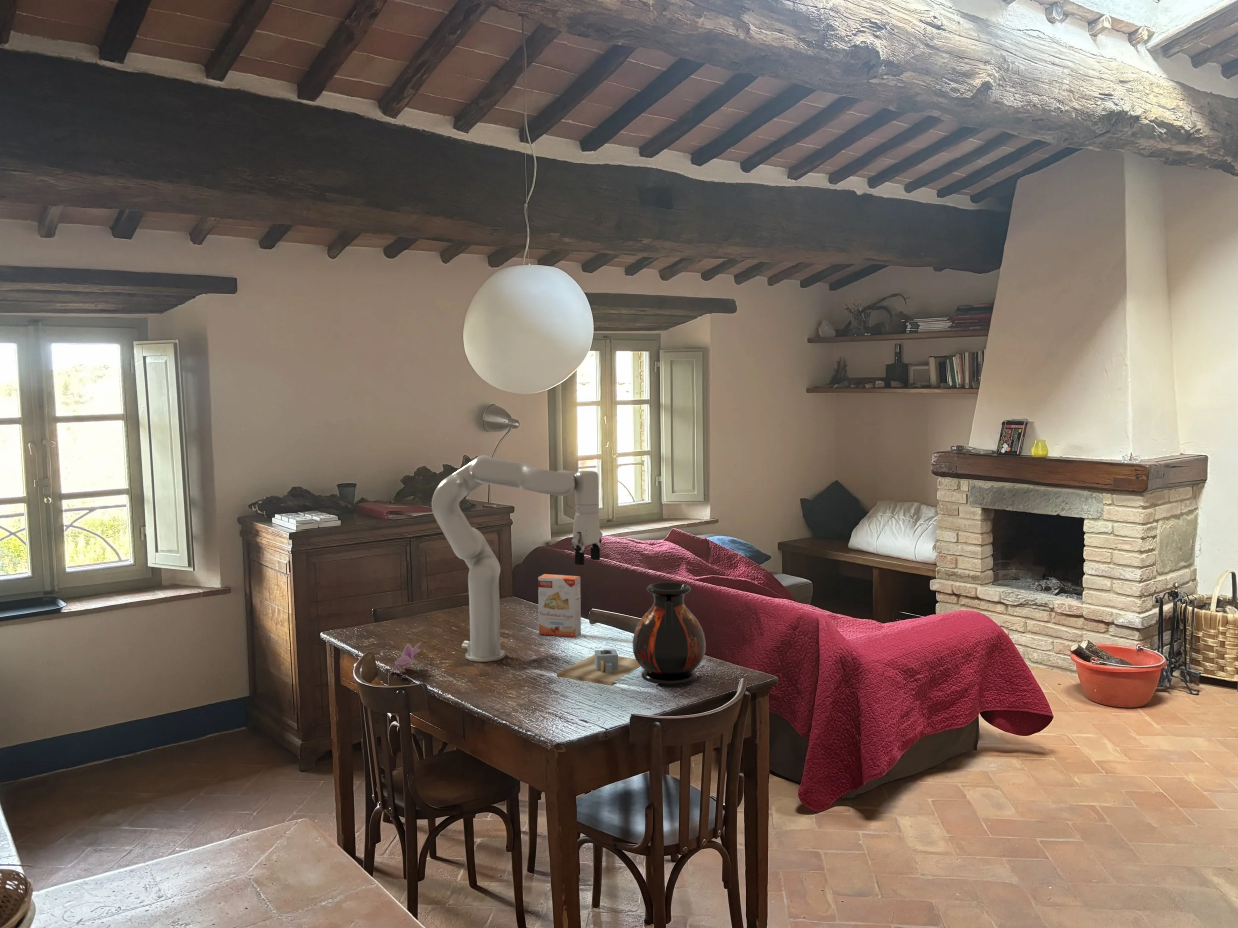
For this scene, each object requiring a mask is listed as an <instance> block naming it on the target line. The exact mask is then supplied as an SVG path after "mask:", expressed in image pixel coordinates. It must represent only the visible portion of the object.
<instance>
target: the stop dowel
mask: <svg viewBox="0 0 1238 928" xmlns="http://www.w3.org/2000/svg"><path fill="white" fill-rule="evenodd" d="M601 673H605V660H601Z"/></svg>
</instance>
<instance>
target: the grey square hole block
mask: <svg viewBox="0 0 1238 928" xmlns="http://www.w3.org/2000/svg"><path fill="white" fill-rule="evenodd" d="M602 650H603V649H595V650H594V655H595V666H596V669H597V671H600V670H601V660H605V673H612V670H618V656H619V654H618V652H617V650H616V649H615V648H614V649H608V650H609V654H602Z"/></svg>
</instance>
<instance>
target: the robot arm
mask: <svg viewBox="0 0 1238 928" xmlns="http://www.w3.org/2000/svg"><path fill="white" fill-rule="evenodd" d="M599 477H600V476H599V473H598V472H597V471H594V470H581V471H573V470H566V469H561V470H558V471H556V470H549V469H543V468H538V467H534V466H531V465H530V464H528V463H524V462H521V461H513V460H507V459H502V458H495V457H491V456H490V455H486V454H484V455H482V454H481V455H479V456H477V457H475V458H474V459H472V460H471V461H470V462H469V463H467V464H466V465H464V466H463V467H461V468H459V469H457V471H455V472H453V473H452V474H450V475H448V476H447V477H446V478H444V479H443V480H441V482H439V484H438V485H437V487H436V488H435V490H434V493H433V495H432V498H431V511H432V514H433V517H434V518H435V520H436V523H437V524H438V526H439V528H440V529H441V531H442V533H443V535H444V536H445V537H444V538H446V540H447V542H448V544H449V545H450V547H451V550H452V551H453V553H454V554H455V556H456V557H457V558H458V559H461V560H463V561H464V562H465V564H466V566H467V567H468V569H469V571H468V577H467V582H468V583H467V585H468V598H469V599H468V600H469V601H468V603H469V604H468V605H469V606H468V607H469V608H468V609H469V610H468V611H469V640H464V641H463V642H462V644H461V648H462V649H467V652H465V659H467V660H468V661H471V662H477V663H478V662H479V663H484V662H485V663H486V662H487V663H488V662H494V661H498V660H502V659H503V658H504V657H506V652H505V651H504V650H503V649H501V632H500V631H501V628H500V627H501V626H500V625H501V624H500V620H501V619H500V589H499V588H500V584H499V581H500V574H501V565H500V562H499V560H498V558H497V557H496V555H495V553H494V552H493V549H492V548H491V546H490V545H489V543H488V542H487V540H486V538H485V536H484V535H483V533H482V532H481V531H480V530H478V529H477V528H475V527H472V525H471V524H470V523H469V521H468V519H467V517H466V515H465V514H464V512H463V511H462V509H461V508H460V502H461V501H462V500H463V499H464V498H465V497H467V496H468V495H469V494H471V493H472V492H474V491H475V490H478V489H479V488H480V487H482V486H483V485H485V484H486V485H492V486H500V487H505V488H510V489H517V490H521V491H529V492H534V493H538V494H539V493H540V494H545V495H550V496H551V495H552V496H557V497H565V496H568V495H570V494H572V493H573V492H574V493H575V494H574V496H575V497H574V499H575V500H574V501H575V502H574V503H575V507H574V508H575V515H574V518H573V527H572V528H573V529H572V539H571V545H572V548H573V552H574V564H575V565H576V566H577V565H579V566H584V565H585V551H584V550H585V548H586V546H591V547H590V560H592V561H600V559H601V547H602V546H601V544H602V539H603V532H602V531H601V526H600V524H601V523H600V515H599V514H600V501H599V500H600V497H599V495H600V494H599V493H600V492H599V489H600V486H599V485H600V483H599V479H600V478H599Z"/></svg>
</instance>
